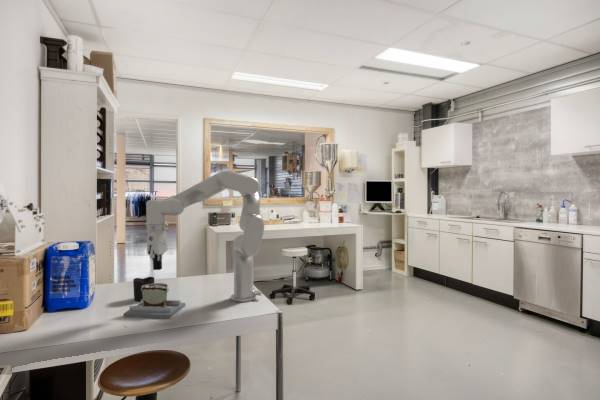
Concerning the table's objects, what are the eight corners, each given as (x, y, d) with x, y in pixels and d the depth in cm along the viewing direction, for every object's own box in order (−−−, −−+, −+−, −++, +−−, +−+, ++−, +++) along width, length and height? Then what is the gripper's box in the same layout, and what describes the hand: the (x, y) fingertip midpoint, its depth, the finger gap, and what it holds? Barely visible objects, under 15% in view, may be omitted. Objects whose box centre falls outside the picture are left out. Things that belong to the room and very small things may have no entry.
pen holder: (146, 302, 162) (146, 281, 162) (128, 301, 164) (128, 280, 164) (158, 297, 171) (158, 277, 171) (141, 295, 173) (141, 276, 173)
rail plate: (185, 305, 158) (185, 298, 158) (169, 318, 142) (169, 310, 142) (143, 304, 160) (143, 297, 160) (123, 316, 144) (123, 308, 144)
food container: (174, 305, 154) (174, 283, 154) (167, 310, 148) (167, 287, 148) (148, 304, 155) (148, 282, 155) (140, 308, 149) (140, 285, 149)
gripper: (156, 229, 143) (157, 273, 143) (172, 225, 158) (173, 265, 158) (138, 230, 143) (140, 273, 144) (156, 226, 158) (157, 265, 159)
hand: (157, 269), depth 151 cm, fingers closed
